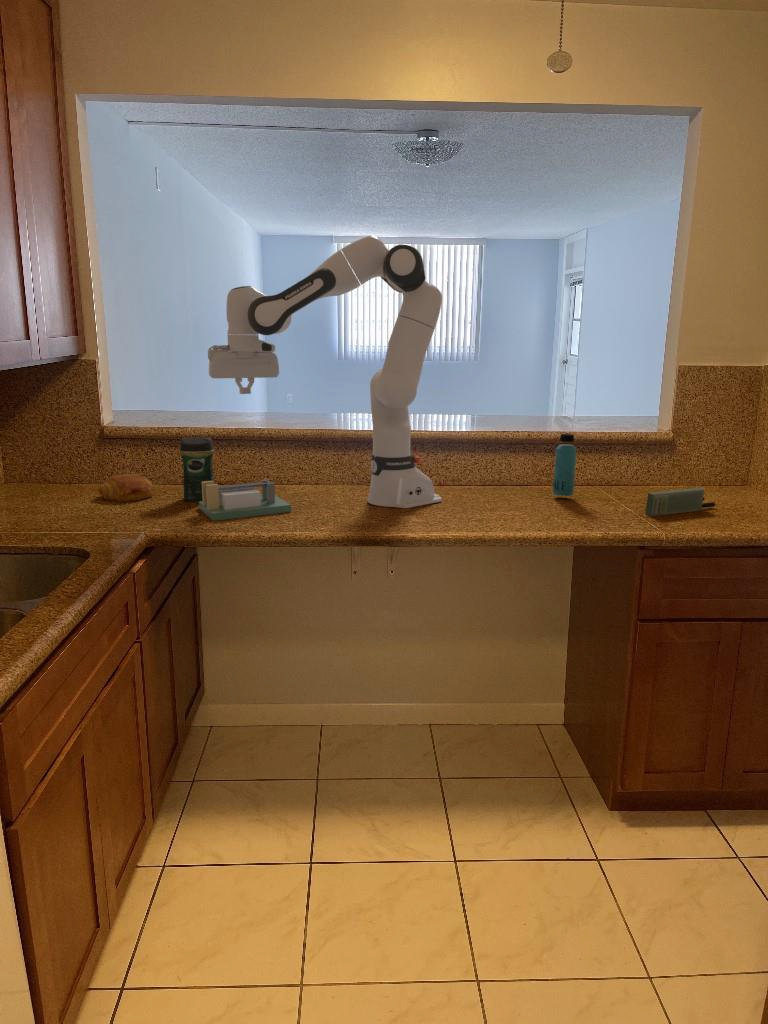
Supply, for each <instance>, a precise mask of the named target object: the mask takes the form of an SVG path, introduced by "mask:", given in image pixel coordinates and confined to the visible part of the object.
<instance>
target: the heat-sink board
mask: <svg viewBox="0 0 768 1024" xmlns="http://www.w3.org/2000/svg"><path fill="white" fill-rule="evenodd" d="M266 480H267V481H269V482H270V480H269V479H261V481H260V482H265V481H266ZM266 484H267V486H261V491H259V490H258V489H256V487H250V488H239V489H229V490H218V486H219V484H218V483H215V484H214V482H213V481H204V482H202V498H203V501H198V508H199V510H201V512H203V514H205V515H206V516H207V517H208V518H209V519H210V520H212V521H215V522H216V521H223V520H230V519H231V520H232V519H241V518H242V519H243V518H250V517H258V516H266V515H267V516H268V515H275V514H284V513H291V512H292V504H290V503H289V502H287V501H285V500H284V499H282V498H280V497H278V496H277V495H276V490H275V482H271V483H266Z"/></svg>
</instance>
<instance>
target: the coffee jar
mask: <svg viewBox="0 0 768 1024" xmlns="http://www.w3.org/2000/svg"><path fill="white" fill-rule="evenodd" d="M179 453H180V456H181V459H182V465H183V466H182V467H183V471H182V472H183V475H182V476H183V481H182V484H183V485H182V497H183V499H184V500H185V501H189V502H199V501H203V498H202V482H204V481H213V482H214V484H216V482H215V476H214V468H213V456H214V453H215V449H214V444H213V440H212V438H211V437H201V436H198V437H197V436H195V437H184V438H181V440H180V445H179Z"/></svg>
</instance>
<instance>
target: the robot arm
mask: <svg viewBox="0 0 768 1024" xmlns="http://www.w3.org/2000/svg"><path fill="white" fill-rule="evenodd" d="M378 277H379V278H381V280H383V281H384V282H385V283H386V284H387V285H388V286H389V287H390V288H391V289H392V290H394V291H395V292H398V293H400V294H402V303H401V306H400V308H399V309H400V310H399V312H398V315H397V317H396V321H395V324H394V326H393V328H392V331H391V335H390V337H389V340H388V343H387V349H386V354H385V359H384V363H383V366H382V368H381V369H379V370H378V371H376V372H375V373H374V374H373V376H372V378H371V380H370V382H369V385H370V386H369V387H370V388H369V389H370V390H369V391H370V393H369V394H370V411H371V421H372V454H371V459H370V460H371V461H370V462H371V463H370V472H371V478H370V479H371V481H370V486H369V491H368V495H367V499H366V503H369V504H371V505H374V506H378V507H388V508H399V509H400V508H401V509H410V508H415V507H420V506H425V505H430V504H434V503H440V502H442V497H441V495H439V494H437V493H435V489H434V487H435V486H434V483H433V481H432V479H431V478H430V477H428V475H426V474H425V473H423V472H422V471H421V470H420V469H419V468H417V466H416V464H417V465H418V464H421V463H422V461H423V458H422V457H421V456H417V455H416V456H414V455H412V454H411V442H412V441H411V440H412V439H411V434H412V433H411V431H412V429H411V428H412V427H411V424H410V416H409V406H410V405H411V404H412V403H413V402H414V401H415V399H416V397H417V394H418V393H417V391H418V386H419V383H420V378H421V375H422V374H421V373H422V371H423V367H424V366H423V365H424V361H425V357H426V355H427V351H428V348H429V345H430V344H431V343H430V342H431V340H432V337H433V335H434V331H435V329H436V327H437V324H438V320H439V317H440V312H441V308H442V303H443V302H442V301H443V295H442V292H441V290H439V288H438V287H437V286H435V285H434V284H432V283H430V282H427V280H426V271H425V265H424V260H423V257H422V255H421V252H420V251H419V250H418V249H417V248H416V247H414V246H412V245H411V244H407V243H399V244H397V245H394V246H392V247H391V248H390V249H388V248H387V246H386V245H385V243H384V242H383V240H381V238H379V237H377V236H376V235H368V236H365V237H362V238H359V239H357V240H356V241H355V240H354V241H353V242H351V243H349V244H347V245H346V246H344V247H342V248H341V249H338V251H336V252H334V253H333V254H332V255H331V256H329V257H328V258H327V259H325V260H324V261H323V262H322V263H321V264H320V265H319V266H318V267H317V268H315V269H314V270H313V271H312V272H311V273H310V274H308V275H307V276H305V278H303V279H301V280H300V281H297V282H296V283H295V284H293V285H291V286H290V287H288V288H286V289H285V290H283V291H281V292H279V293H277V294H274V295H266V294H265V293H262V292H261V291H259V290H258V289H257V288H255V287H254V286H252V285H251V286H250V285H246V286H245V285H243V286H238V287H233V288H231V289H230V290H229V291H228V293H227V296H226V297H227V298H226V321H227V327H228V329H227V334H226V335H227V345H226V344H222V345H215V344H214V345H212V346H210V347H209V348H208V349H207V358H208V360H209V363H208V376H209V377H210V378H211V379H235V380H234V381H235V384H236V385H237V387H238V388H239V394H240V395H251V393H252V387H253V385H254V383H255V378H257V379H261V378H267V379H268V378H270V379H271V378H278V377H279V375H280V367H279V359H278V355H277V354H276V353H275V351H276V345H275V344H273V343H270V342H267V341H265V340H262V339H259V337H260V335H262V336H271V335H276V334H280V333H283V332H284V331H286V330H287V329H288V328H289V326H290V325H291V322H292V315H293V314H295V313H297V312H299V311H300V310H302V309H304V308H305V307H307V306H308V305H309V304H311V303H313V302H316V301H317V300H319V299H323V298H326V297H337V296H342V295H344V294H347V293H349V292H352V291H353V290H355V289H357V288H359V287H360V286H362V285H364V284H365V283H367V282H369V281H370V280H372V279H374V278H378ZM243 379H247V382H248V384H247V386H246V387H244V386H243V385H242V382H243Z"/></svg>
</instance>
